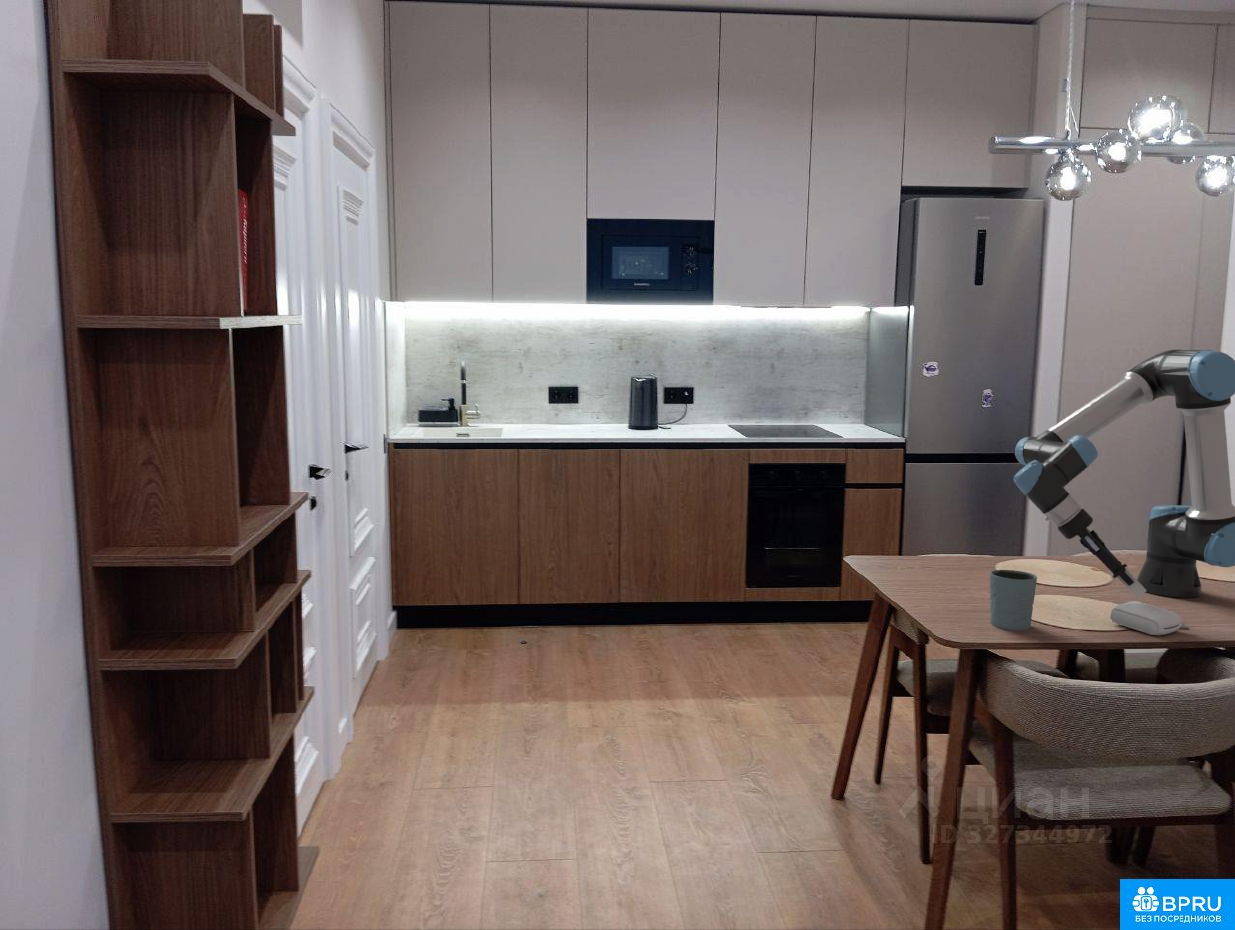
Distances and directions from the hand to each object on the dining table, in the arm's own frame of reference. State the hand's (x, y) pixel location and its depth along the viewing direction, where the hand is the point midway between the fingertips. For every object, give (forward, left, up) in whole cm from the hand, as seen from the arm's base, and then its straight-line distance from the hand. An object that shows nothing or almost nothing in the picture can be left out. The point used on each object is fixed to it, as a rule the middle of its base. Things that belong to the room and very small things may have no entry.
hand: (1141, 593), depth 229 cm
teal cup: (+31, +7, -7) cm, 33 cm away
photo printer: (+4, 0, -4) cm, 6 cm away
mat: (-4, -3, -7) cm, 8 cm away
